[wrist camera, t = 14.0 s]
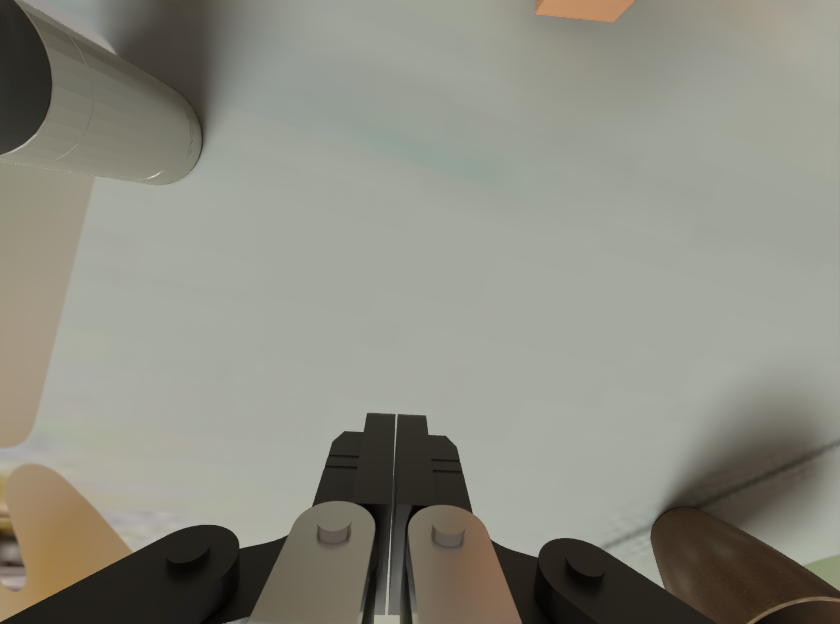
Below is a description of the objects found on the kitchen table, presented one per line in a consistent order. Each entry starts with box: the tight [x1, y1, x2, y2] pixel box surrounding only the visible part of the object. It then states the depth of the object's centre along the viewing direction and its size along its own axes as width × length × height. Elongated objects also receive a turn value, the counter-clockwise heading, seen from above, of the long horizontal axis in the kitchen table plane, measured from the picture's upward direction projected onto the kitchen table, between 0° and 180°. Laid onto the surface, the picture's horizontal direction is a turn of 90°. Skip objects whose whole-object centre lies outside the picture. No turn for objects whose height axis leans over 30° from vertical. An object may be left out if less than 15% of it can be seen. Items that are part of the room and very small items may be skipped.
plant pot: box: [651, 507, 840, 624], centre depth 43 cm, size 15×15×16 cm
